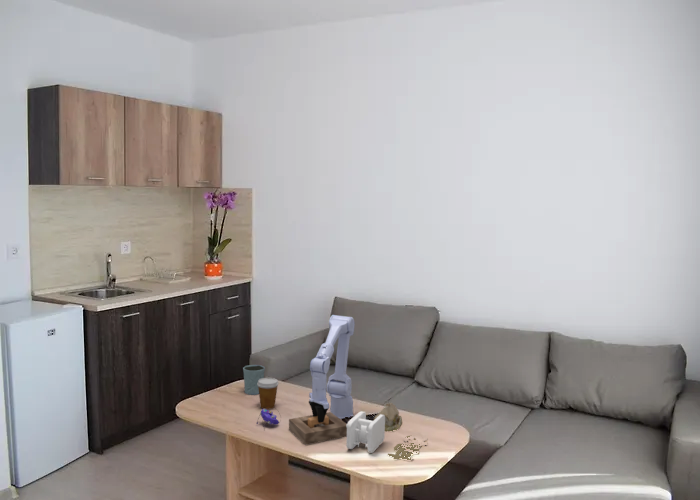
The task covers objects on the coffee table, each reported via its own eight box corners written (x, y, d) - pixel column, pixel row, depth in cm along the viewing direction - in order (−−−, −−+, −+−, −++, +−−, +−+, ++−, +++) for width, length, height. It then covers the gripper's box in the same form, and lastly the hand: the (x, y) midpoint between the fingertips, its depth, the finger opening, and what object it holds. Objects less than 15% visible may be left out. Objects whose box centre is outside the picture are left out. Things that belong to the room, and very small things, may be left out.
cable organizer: (370, 456, 228) (371, 426, 226) (344, 451, 232) (345, 421, 231) (384, 441, 241) (385, 413, 240) (360, 436, 245) (361, 408, 244)
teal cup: (240, 394, 290) (240, 369, 289) (247, 387, 300) (247, 363, 299) (260, 396, 288) (260, 371, 287) (267, 389, 298) (267, 365, 297)
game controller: (287, 416, 255) (269, 417, 248) (280, 433, 256) (262, 435, 249) (274, 403, 262) (256, 404, 254) (267, 419, 263) (249, 421, 255)
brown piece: (330, 422, 259) (330, 411, 259) (348, 436, 245) (348, 425, 245) (288, 429, 250) (289, 419, 250) (305, 444, 236) (305, 433, 236)
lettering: (409, 434, 249) (409, 432, 249) (433, 439, 245) (433, 437, 245) (384, 458, 227) (384, 455, 227) (410, 464, 223) (410, 462, 223)
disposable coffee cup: (282, 405, 277) (282, 380, 276) (268, 412, 269) (269, 385, 268) (266, 401, 282) (266, 376, 281) (252, 407, 274) (252, 381, 273)
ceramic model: (393, 434, 249) (394, 410, 248) (368, 428, 254) (369, 405, 253) (406, 422, 261) (407, 400, 260) (382, 417, 266) (382, 395, 265)
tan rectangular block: (325, 426, 251) (325, 414, 250) (328, 429, 248) (328, 417, 248) (307, 429, 247) (307, 417, 246) (310, 432, 244) (311, 420, 244)
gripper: (302, 383, 250) (302, 415, 252) (318, 394, 237) (317, 428, 239) (318, 381, 253) (317, 412, 255) (334, 392, 241) (333, 425, 242)
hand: (318, 420), depth 247 cm, fingers open, 4 cm apart
